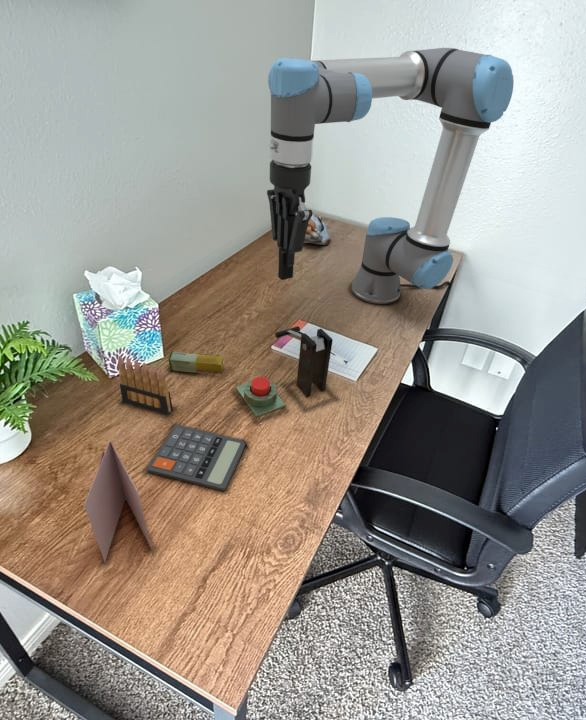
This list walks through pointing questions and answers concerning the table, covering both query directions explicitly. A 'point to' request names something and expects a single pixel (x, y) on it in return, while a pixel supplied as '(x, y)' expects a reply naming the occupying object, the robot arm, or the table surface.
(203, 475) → the calculator
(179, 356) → the medication box
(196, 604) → the table surface
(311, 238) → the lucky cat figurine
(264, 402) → the button block
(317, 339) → the lever
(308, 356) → the bracket
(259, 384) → the button
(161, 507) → the table surface
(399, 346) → the table surface
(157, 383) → the ammunition clip
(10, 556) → the table surface
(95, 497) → the greeting card
